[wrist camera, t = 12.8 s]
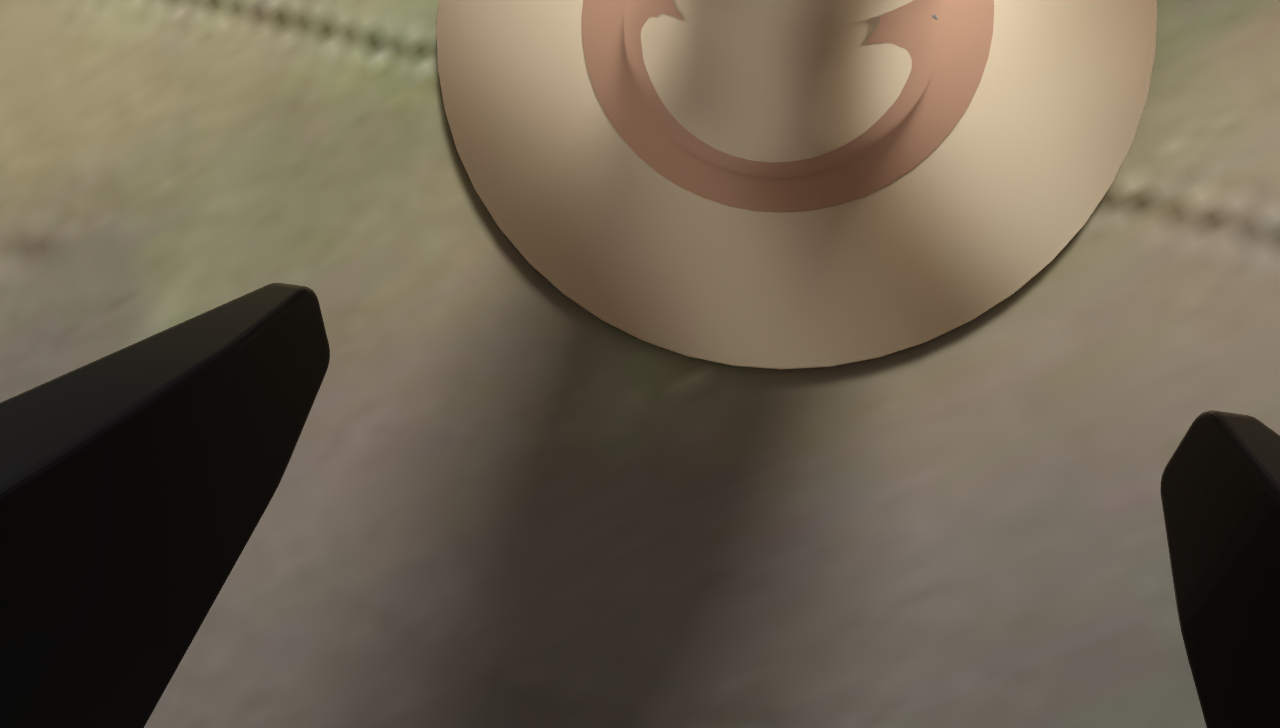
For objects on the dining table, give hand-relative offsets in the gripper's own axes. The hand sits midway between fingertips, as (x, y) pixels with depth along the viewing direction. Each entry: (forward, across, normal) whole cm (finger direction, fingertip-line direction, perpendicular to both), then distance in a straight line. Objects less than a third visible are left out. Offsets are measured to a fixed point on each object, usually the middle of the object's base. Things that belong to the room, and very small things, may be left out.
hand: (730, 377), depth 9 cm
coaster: (+11, 0, 0) cm, 11 cm away
